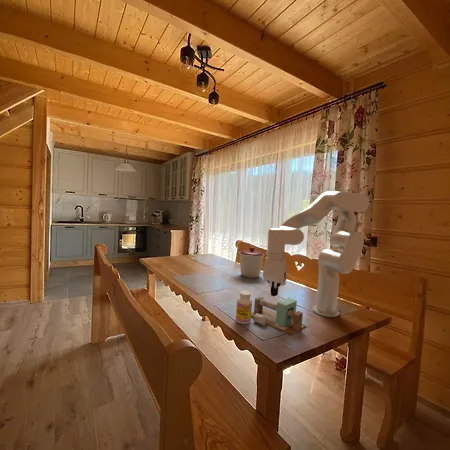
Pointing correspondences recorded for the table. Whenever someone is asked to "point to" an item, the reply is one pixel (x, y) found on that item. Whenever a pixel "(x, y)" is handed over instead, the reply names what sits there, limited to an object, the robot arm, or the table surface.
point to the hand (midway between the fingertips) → (274, 295)
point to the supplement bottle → (244, 308)
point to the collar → (285, 311)
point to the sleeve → (260, 319)
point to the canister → (251, 262)
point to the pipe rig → (271, 316)
